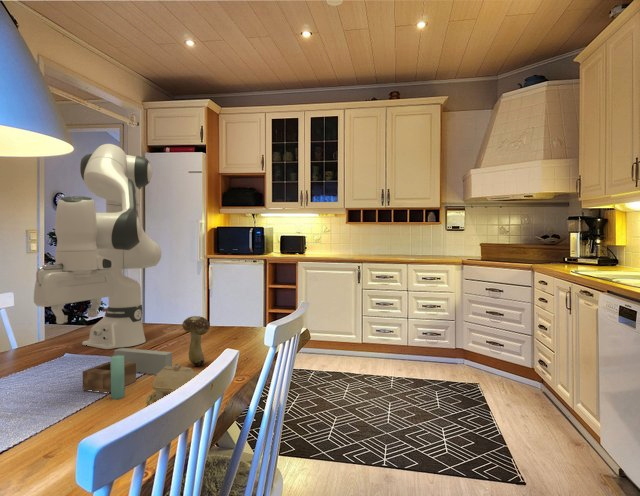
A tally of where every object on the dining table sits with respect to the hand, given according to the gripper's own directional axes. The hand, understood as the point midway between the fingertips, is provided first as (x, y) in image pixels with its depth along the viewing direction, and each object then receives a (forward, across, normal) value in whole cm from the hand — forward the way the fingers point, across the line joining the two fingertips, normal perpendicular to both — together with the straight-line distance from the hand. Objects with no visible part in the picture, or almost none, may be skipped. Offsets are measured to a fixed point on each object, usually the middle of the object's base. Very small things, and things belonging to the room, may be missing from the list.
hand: (77, 320), depth 101 cm
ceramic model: (+20, +3, -25) cm, 32 cm away
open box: (+19, +10, 0) cm, 22 cm away
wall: (+19, +22, 0) cm, 30 cm away
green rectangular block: (+19, +4, -8) cm, 21 cm away
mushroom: (+20, +32, -12) cm, 39 cm away
